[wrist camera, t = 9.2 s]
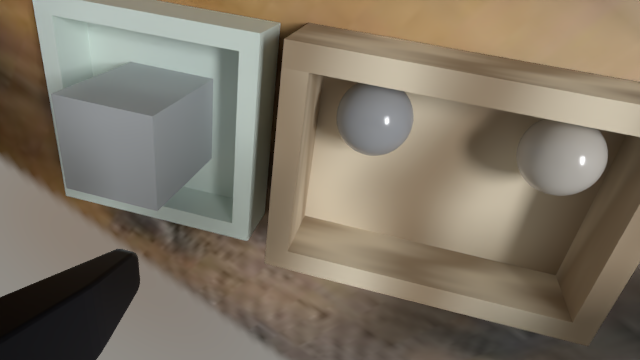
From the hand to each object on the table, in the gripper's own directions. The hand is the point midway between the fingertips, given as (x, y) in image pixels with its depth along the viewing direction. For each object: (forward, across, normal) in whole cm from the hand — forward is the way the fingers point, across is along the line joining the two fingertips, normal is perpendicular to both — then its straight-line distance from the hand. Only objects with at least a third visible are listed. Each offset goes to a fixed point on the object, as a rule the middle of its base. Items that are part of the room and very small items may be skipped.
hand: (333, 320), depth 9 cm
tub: (+12, +10, +2) cm, 16 cm away
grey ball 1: (+12, 0, -1) cm, 12 cm away
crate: (+12, -3, +2) cm, 12 cm away
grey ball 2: (+12, -6, -1) cm, 13 cm away
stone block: (+12, +10, +2) cm, 15 cm away
